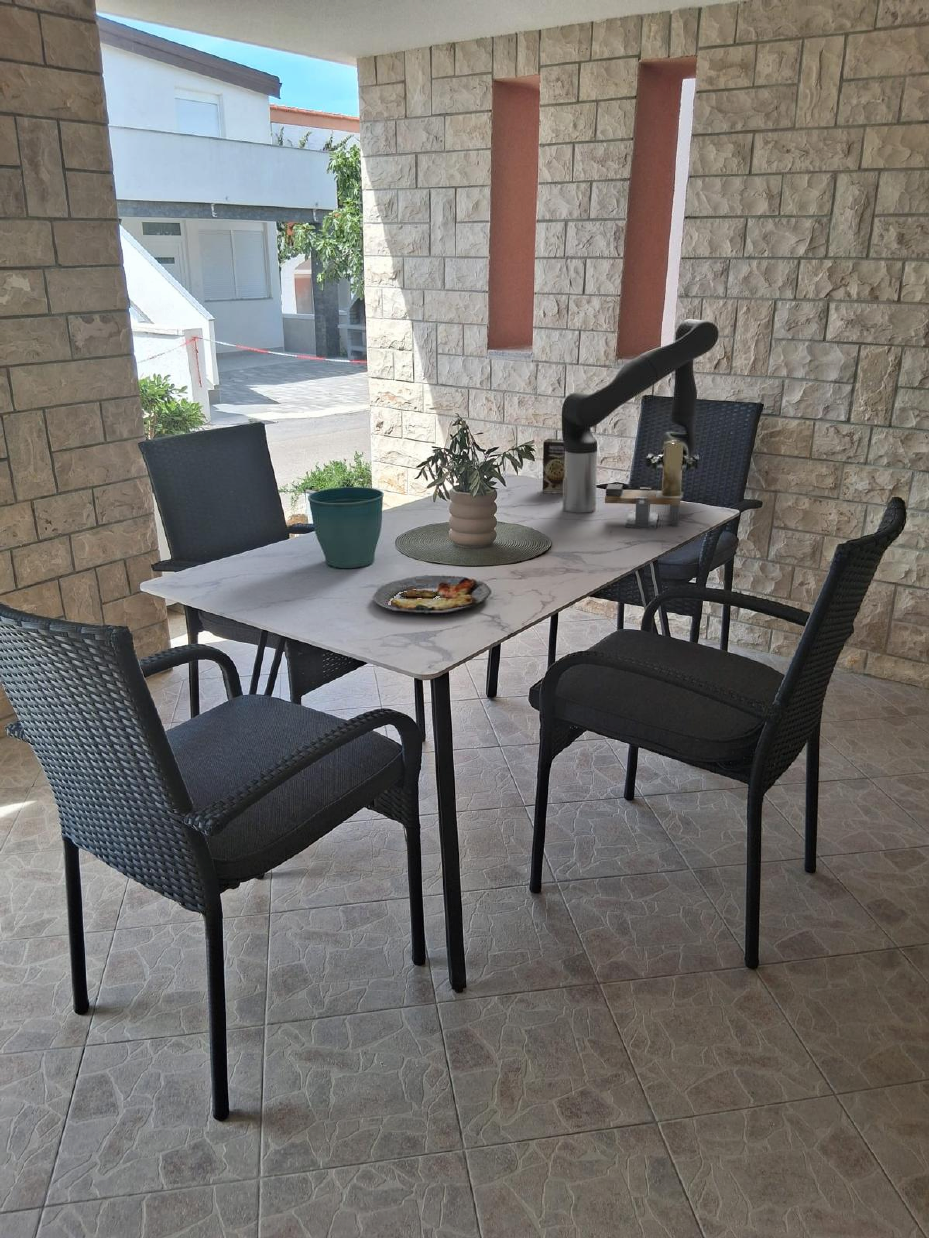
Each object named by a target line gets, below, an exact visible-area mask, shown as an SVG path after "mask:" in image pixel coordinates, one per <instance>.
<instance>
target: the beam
mask: <svg viewBox="0 0 929 1238" xmlns="http://www.w3.org/2000/svg"><path fill="white" fill-rule="evenodd" d="M623 488H624V485H623V483H620V484H619V483H616V484H615V483H608V484H607V486H606V488H605V496H604V504H623V505H625V504H626V505H627V504H628V505H630V504H631V505H636V497H648V504H650V505H660V506H661V505H664V506H665V505H666V506H670V505H680V506H681V501H682V499H683V497H684V491H682V490H681V495H679V496H664V495H662V490H652V489H651V490H640V489H623Z"/></svg>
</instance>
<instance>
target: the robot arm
mask: <svg viewBox="0 0 929 1238" xmlns="http://www.w3.org/2000/svg"><path fill="white" fill-rule="evenodd" d="M718 338H719V329H718V327H717V326H716V324H714V323H713V322H711V321H708V320H706V319H705V320H704V319H694V318H688V319H685V320H683V321H682V322H681V323H680V324H679V325H678V326H677V328H676V332H675V338H674V339H675V340H674V341H673V342H671V343H667V344H666V345H663V346H660V347H656V348H654V349H651V350H648V351H645V352H643V353H642V354H639V355H638V356H636V357H634V358H633V359H631V360H630V361H629V362H627V363H625V364H624V365H623V366H622V367H621V369H620V370H619V371H618V372H617V373H616V376H615V377H614V379H613V380H612V381H611V382H609V383H608V384H607V385H606V386H604V387H603V388H600V389H599V390H597V391H595V392H593V393H589V394H588V393H584V392H573V393H570V394H569V395H567V396H566V398H565V399H564V401H563V404H562V407H561V435H562V436H561V437H562V438H561V439H563V442H564V444H565V477H564V478H563V494H562V511H563V512H569V513H579V514H580V513H582V514H583V513H591V512H595V510H596V508H597V506H596V505H597V476H598V475H597V473H598V470H597V469H598V467H597V466H598V441H597V440H596V438H595V437H594V435H593V433H592V431H591V429H592V428H593V427H595V426H597V425H598V424H600V423H602V421H603V420H605V419H606V418H607V417H608V416H610V415H611V414H612V413H613V412H615V411H616V410H617V409H618V408H620V407H621V406H623V405H624V404H625V403H627V402H629V401H630V400H632V399H633V398H636V396H638V395H640V394H642V393H644V391H646V390H648V389H649V388H651V387H652V386H654V385H655V384H657V383H658V382H660V381H661V380H663V379H664V378H666V377H667V376H668V375H671V373H673V372H674V385H673V386H674V388H673V390H674V391H673V397H672V403H671V407H670V408H671V410H670V415H669V416H670V417H669V422H670V423H672V424H674V425H677V426H679V427H681V428H683V429H684V431H685V433H684V432H675V431H666V432H665V433H663V434H662V436H661V437H660V440H659V451H660V454H658V455H657V456H655V455H654V454H653V453H649V454H648V455H647V456H646V460H645V467H647V468H649V467H651V468H652V469H653V470H657V469H658V468H660V469H663V458H664V442H668V441H679V442H683V459H682V469H685V471H686V472H687V471H689V470H691V469H693V468H694V469H699V466H700V457H699V456H700V455H698V454H694V452H695V451H696V437H695V424H694V423H695V414H696V408H697V401H698V390H697V389H698V388H697V385H696V381H695V375H694V360H695V359H698V358H699V357H701V356H703V355H705V354H707V353H708V352H710V351H711V350H712V349H713V348H714V346H716V344H717V342H718Z"/></svg>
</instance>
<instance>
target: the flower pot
mask: <svg viewBox="0 0 929 1238" xmlns="http://www.w3.org/2000/svg"><path fill="white" fill-rule="evenodd" d="M383 499H384V492H383V491H381V490H380V489H377V488H372V487H366V486H344V487H343V486H341V487H332V488H324V489H320V490H317V491H313V492H311V493H310V494H309V495H308V496H307V500H308V501H309V508H310V512H311V518H312V523H313V524H312V525H313V530H314V532H315V535H316V539H317V541H318V543H319V545H320V548H321V550H322V553H323V555H324V557H325V560H324V561H326V562H325V564H326V563H327V564H326V565H328V566H329V565H331V566H330V567H332V566H333V567H332V568H337V567H338V569H354V568H356V569H357V568H362V567H365V566H368V565H370V564H372V563H373V562H375V553H376V550H377V549H376V548H377V546H378V542H379V539H380V535H381V531H382V523H383V505H384V504H383Z"/></svg>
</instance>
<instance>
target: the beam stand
mask: <svg viewBox="0 0 929 1238" xmlns="http://www.w3.org/2000/svg"><path fill="white" fill-rule="evenodd" d="M639 490H652V487H639ZM680 507H681V504H680V505H669V515H668V516H669V517H668V526H669V525H671V526H670V527H678V525H679V521H680V519H679V518H680ZM659 517H660V511H651V504H648V497H636V504H635V510H630V512H629V514H628V516H627V519H626V522H625V528H626V529H642V528H650V529H649V530H652V529H651V528H654V529H653V530H656V529H655V528H657V525H656V524H658V521H657V520H659Z"/></svg>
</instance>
